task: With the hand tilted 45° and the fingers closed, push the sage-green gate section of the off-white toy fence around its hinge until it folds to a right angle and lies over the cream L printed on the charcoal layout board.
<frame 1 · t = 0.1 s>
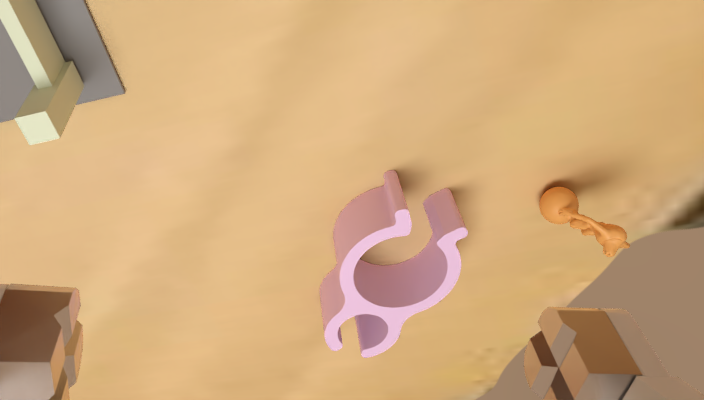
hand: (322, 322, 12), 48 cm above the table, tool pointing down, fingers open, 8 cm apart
gate: (16, 32, 50), point 6 cm above the table, hinge at 0.0°
figurine: (558, 187, 72), on the table
clip: (378, 247, 75), on the table
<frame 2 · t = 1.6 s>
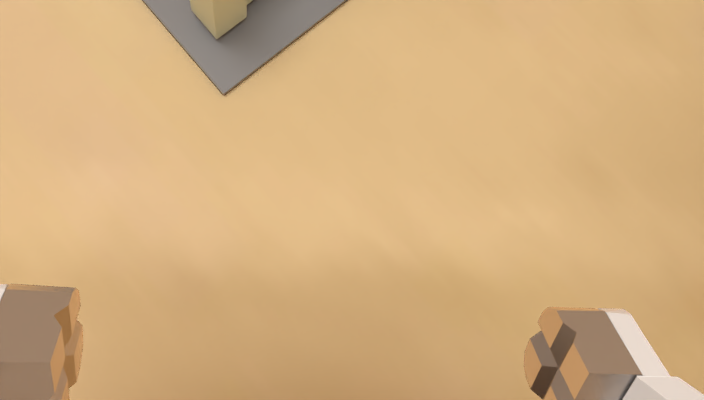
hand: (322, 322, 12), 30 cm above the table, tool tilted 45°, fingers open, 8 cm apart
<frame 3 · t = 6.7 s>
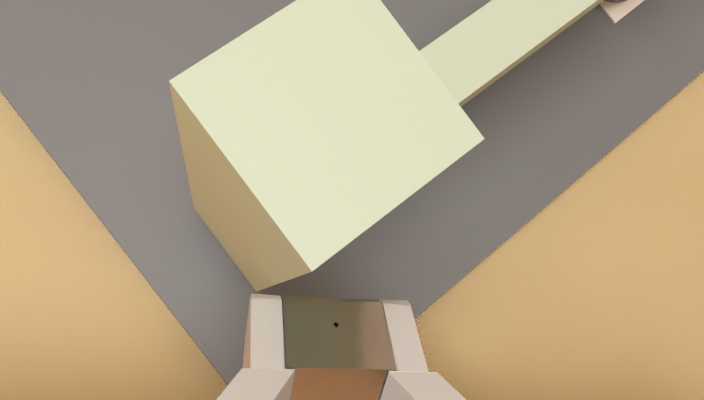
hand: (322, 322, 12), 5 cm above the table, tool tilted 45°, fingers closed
gate: (531, 10, 13), point 5 cm above the table, hinge at -0.8°, touching gripper
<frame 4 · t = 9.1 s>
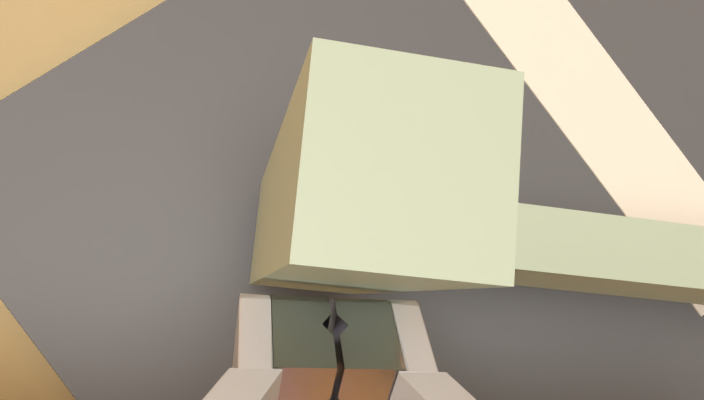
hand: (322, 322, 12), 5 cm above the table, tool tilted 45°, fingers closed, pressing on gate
gate: (648, 251, 12), point 5 cm above the table, hinge at -43.0°, touching gripper
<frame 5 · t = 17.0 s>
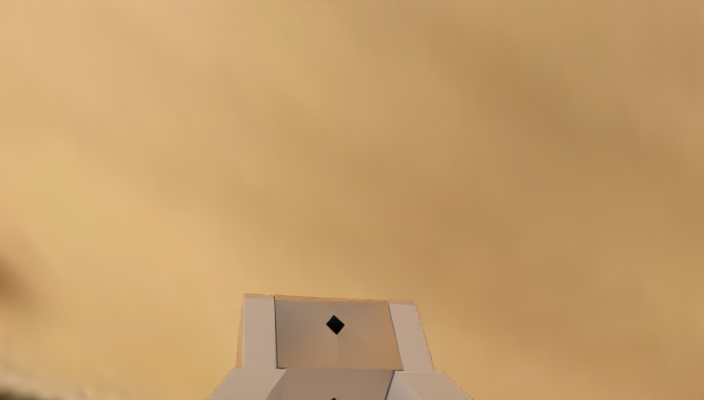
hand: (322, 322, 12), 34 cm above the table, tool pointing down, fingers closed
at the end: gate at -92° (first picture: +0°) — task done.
